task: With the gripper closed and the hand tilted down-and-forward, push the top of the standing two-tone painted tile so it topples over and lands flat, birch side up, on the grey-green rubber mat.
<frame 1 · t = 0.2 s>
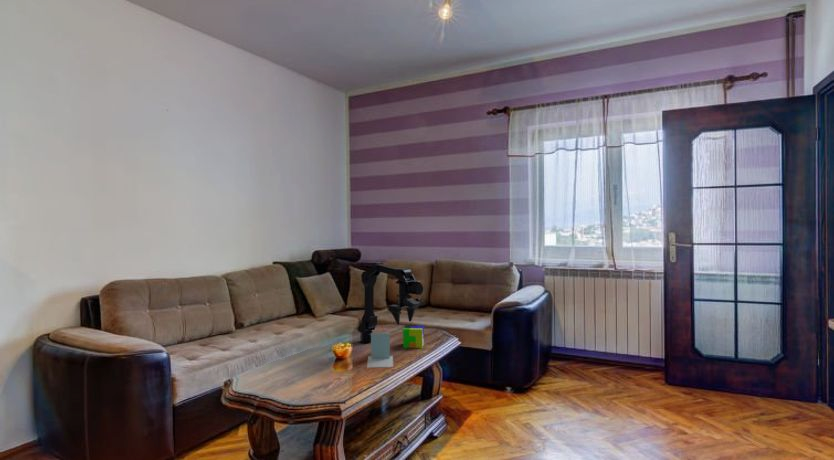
hand: (404, 322, 236), 14 cm above the table, tool pointing down, fingers open, 9 cm apart
mat: (380, 362, 216), on the table
tile: (380, 357, 221), resting on mat
puzzle toy: (413, 346, 244), on the table
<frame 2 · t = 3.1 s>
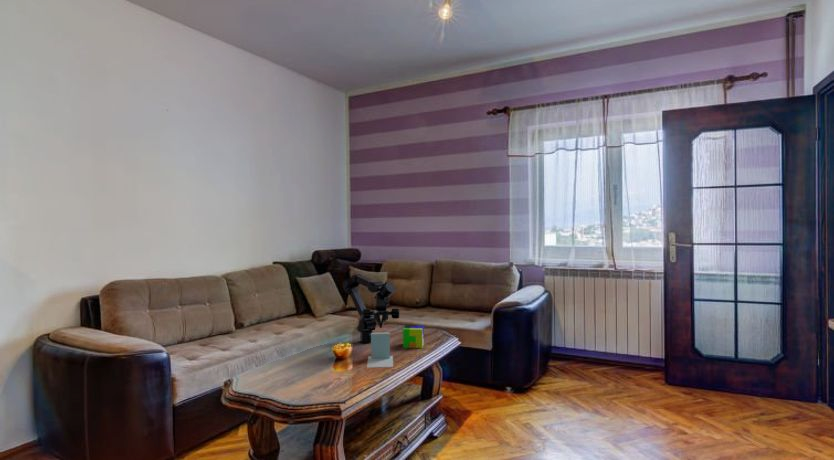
hand: (380, 327, 229), 13 cm above the table, tool tilted 45°, fingers closed
nothing on the table moved.
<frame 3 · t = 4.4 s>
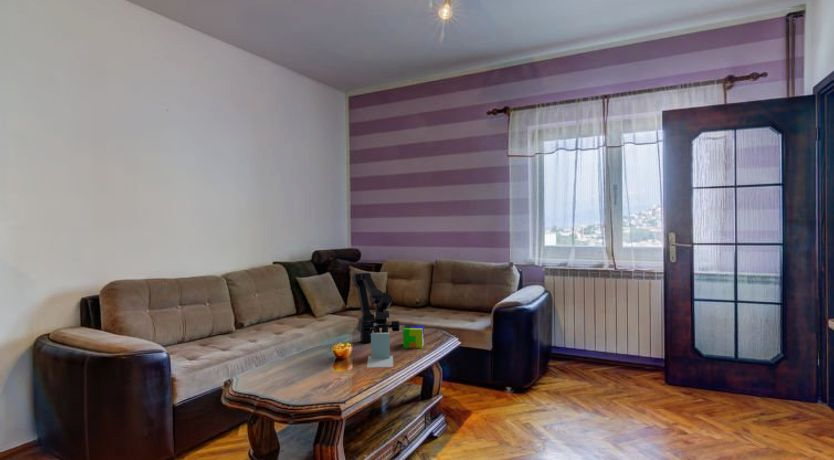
hand: (380, 341, 222), 8 cm above the table, tool tilted 45°, fingers closed
tile: (380, 357, 221), resting on mat, touching gripper
everything else where it was.
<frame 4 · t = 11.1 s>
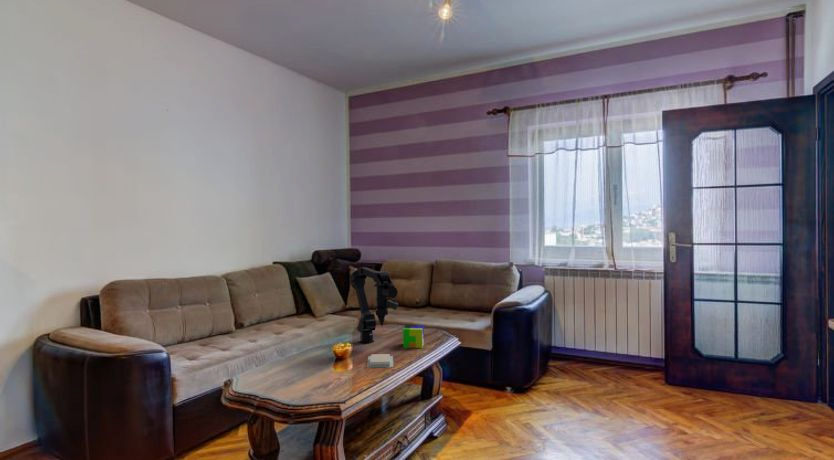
hand: (382, 325, 240), 12 cm above the table, tool pointing down, fingers closed
tile: (380, 356, 220), point 1 cm above the table, tilted 90°, touching mat
everything else where it was.
at the end: tile tilted 90°; tile 4.1 cm from the mat (horizontally); tile point 1.5 cm above the table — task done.
